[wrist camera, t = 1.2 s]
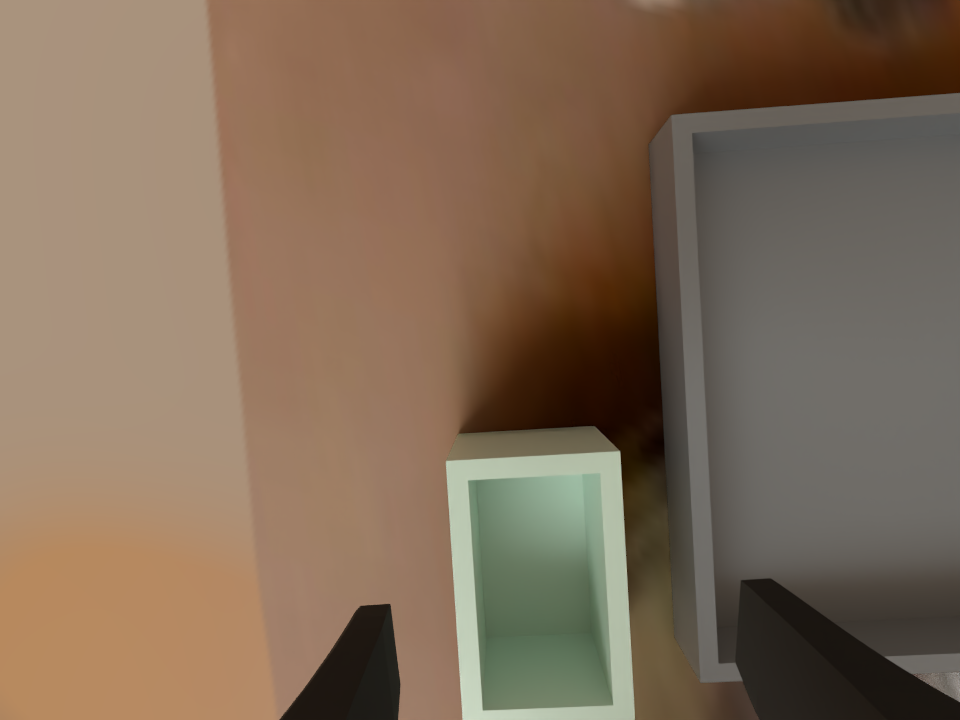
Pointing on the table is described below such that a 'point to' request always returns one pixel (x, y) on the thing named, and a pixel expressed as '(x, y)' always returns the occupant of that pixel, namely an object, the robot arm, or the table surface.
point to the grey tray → (813, 369)
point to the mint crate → (540, 575)
